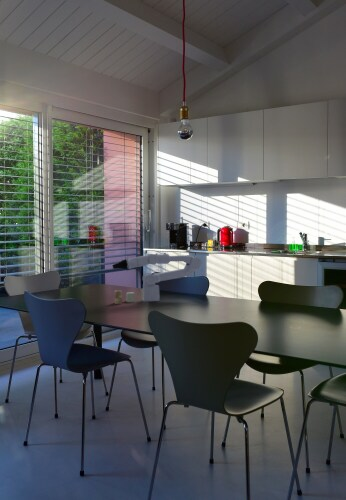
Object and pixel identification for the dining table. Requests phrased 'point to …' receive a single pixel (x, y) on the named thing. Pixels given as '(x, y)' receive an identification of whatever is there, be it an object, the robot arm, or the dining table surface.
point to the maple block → (118, 296)
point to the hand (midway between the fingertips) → (113, 266)
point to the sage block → (130, 297)
